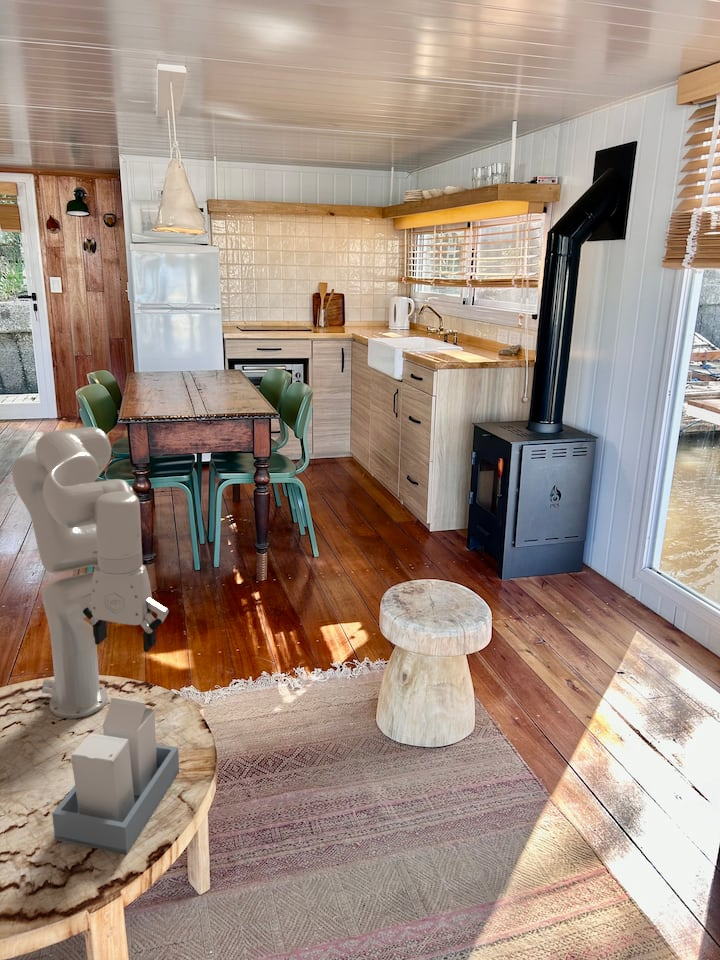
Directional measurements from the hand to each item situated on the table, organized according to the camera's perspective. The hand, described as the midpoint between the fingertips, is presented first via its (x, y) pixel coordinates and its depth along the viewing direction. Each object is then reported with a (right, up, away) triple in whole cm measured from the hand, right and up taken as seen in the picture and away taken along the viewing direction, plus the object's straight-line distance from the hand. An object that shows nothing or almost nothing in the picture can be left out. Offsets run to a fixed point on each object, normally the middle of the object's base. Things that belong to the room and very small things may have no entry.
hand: (125, 644), depth 137 cm
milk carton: (-2, -30, +10) cm, 31 cm away
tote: (-2, -32, +5) cm, 32 cm away
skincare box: (-4, -32, +1) cm, 33 cm away
